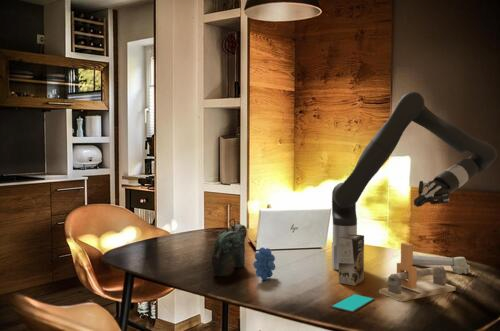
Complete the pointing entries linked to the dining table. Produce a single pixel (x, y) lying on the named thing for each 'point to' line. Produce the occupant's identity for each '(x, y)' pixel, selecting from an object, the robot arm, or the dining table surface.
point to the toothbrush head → (443, 262)
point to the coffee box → (351, 259)
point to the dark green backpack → (229, 248)
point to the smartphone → (352, 303)
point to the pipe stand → (418, 285)
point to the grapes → (264, 263)
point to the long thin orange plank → (407, 266)
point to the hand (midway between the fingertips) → (415, 204)
